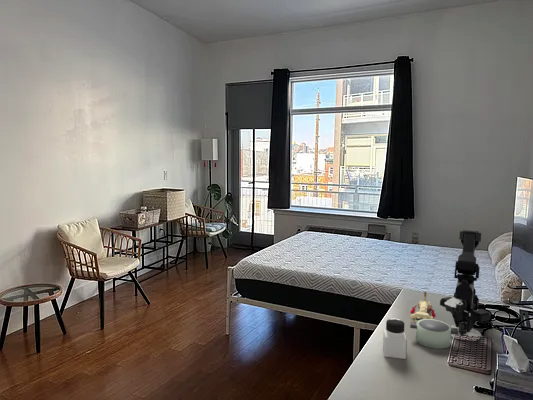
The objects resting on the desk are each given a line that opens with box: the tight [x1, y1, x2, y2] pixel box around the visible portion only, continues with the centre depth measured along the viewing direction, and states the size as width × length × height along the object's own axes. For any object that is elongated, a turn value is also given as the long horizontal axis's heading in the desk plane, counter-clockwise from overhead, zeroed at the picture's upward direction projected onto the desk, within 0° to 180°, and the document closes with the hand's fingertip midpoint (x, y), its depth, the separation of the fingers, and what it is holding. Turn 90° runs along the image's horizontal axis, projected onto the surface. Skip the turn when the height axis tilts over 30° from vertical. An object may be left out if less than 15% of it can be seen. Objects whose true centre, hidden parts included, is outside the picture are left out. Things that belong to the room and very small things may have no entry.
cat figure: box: [409, 291, 437, 323], centre depth 171 cm, size 10×9×25 cm
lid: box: [450, 321, 482, 339], centre depth 155 cm, size 13×13×5 cm
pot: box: [409, 318, 458, 350], centre depth 148 cm, size 12×16×6 cm
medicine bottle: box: [382, 317, 408, 360], centre depth 139 cm, size 7×7×12 cm
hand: (462, 329), depth 155 cm, fingers open, 5 cm apart
